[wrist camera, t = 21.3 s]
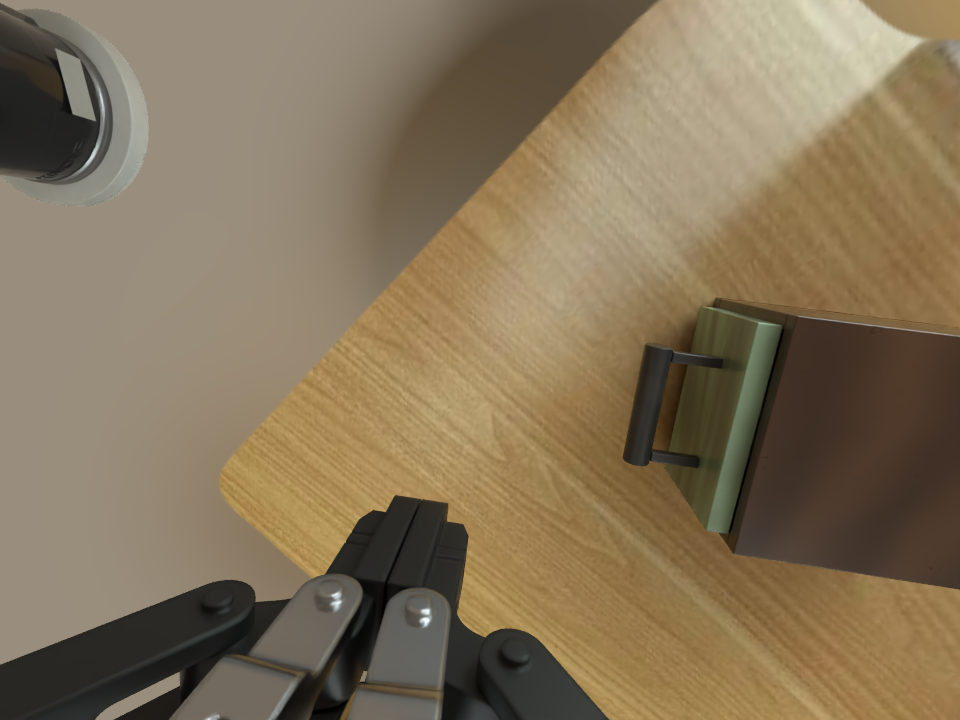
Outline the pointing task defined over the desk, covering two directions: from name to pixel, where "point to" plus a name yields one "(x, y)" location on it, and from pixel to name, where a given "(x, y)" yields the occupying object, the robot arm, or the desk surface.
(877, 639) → the desk surface
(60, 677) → the robot arm
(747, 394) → the drawer
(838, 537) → the cabinet
